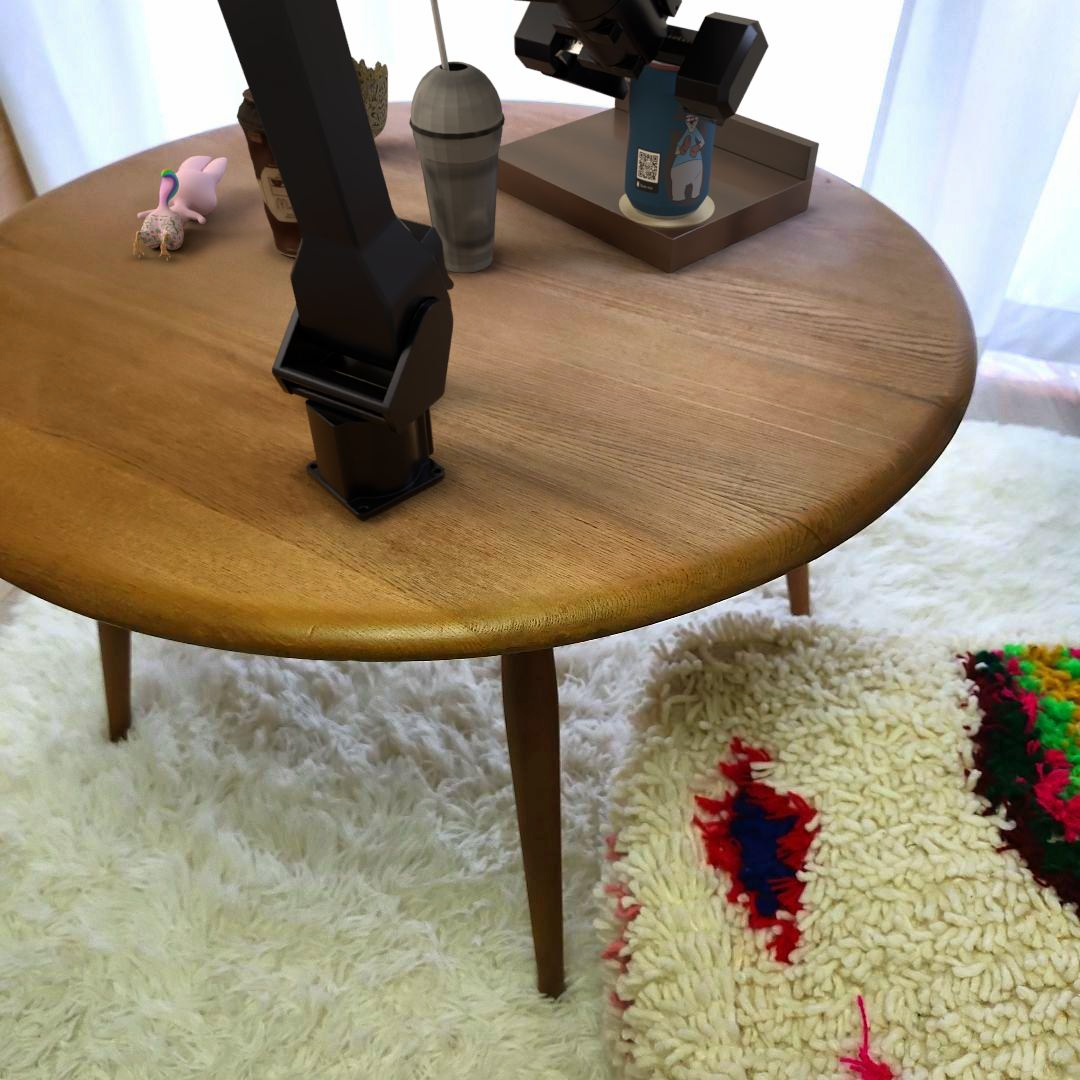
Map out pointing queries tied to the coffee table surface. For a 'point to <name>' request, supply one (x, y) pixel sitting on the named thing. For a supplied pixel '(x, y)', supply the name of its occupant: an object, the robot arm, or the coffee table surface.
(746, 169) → the shelf
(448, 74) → the beverage cup
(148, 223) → the rabbit figure
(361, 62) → the cup
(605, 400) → the coffee table surface
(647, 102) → the soda can
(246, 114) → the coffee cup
